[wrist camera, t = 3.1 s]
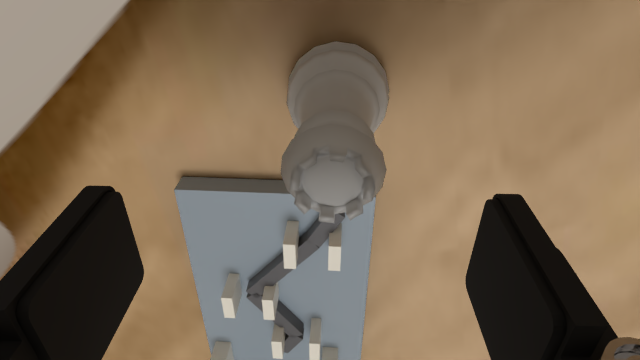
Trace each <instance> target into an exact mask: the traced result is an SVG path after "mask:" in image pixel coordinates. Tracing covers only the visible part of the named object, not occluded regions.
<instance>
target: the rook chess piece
mask: <svg viewBox="0 0 640 360" xmlns="http://www.w3.org/2000/svg"><path fill="white" fill-rule="evenodd" d="M388 93H389V87H388V82H387V77H386V72H385V70H384V69H383V67H382V66H381V65H380V63H379V62H378V60H377V59H376V57H375V56H374V55H373V54H371V53H370V52H368V51H366V50H365V49H363V48H361V47H360V46H358V45H356V44H350V43H343V42H336V41H335V42H331V43H327V44H323V45H319V46H316V47H314V48H312V49H311V50H310V51H309V52H307V53H306V54H305V55H303V56H302V57H301V58H300V59H298V61H297V63H296V65H295V67H294V69H293V70H292V72H291V74H290V76H289V84H288V94H287V105H288V108H289V111H290V114H291V117H292V120H293V123H294V124H295V125H296V127H297V128H298V131H297V133H296V134H295V137H294V139H293V140H292V141H291V142H290V144H289V146H288V147H287V149H286V151H285V152H284V154H283V156H282V164H281V176H282V178H283V181H284V183H285V186H286V189H287V190H288V191H289V193H290V194H291V195H292V196H293V197H294V198H295V201H294V204H295V205H296V206H297V207H298V208H299V210H300V211H301V212H302V213H303V214H305V213H307V212H308V211H309V210H310V209H313V210H315V211H317V212H319V221H320V222H328V223H334V219H335V214H339V213H344V212H346V215H347V216H348V218H349V220H352V219H354V218H355V217H357V216H359V215H361V214H363V205H365V204H367V203H369V202H370V201H371V202H372V201H373V198H374V197H375V196H376V194H377V193H378V192H379V191H380V189H381V188H382V186H383V182H384V178H385V174H386V166H385V162H384V157H383V153H382V151H381V150H380V149H379V147H378V146H377V145H376V143H375V139H374V135H373V133H374V132H375V130H376V129H377V128H378V126H379V125H380V124H381V122H382V121H383V119H384V117H385V114H386V110H387V105H388V101H389V95H388Z"/></svg>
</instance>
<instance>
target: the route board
mask: <svg viewBox="0 0 640 360" xmlns="http://www.w3.org/2000/svg"><path fill="white" fill-rule="evenodd" d="M174 191H175V195H176V200H177V204H178V209H179V213H180V218H181V222H182V226H183V231H184V235H185V240H186V244H187V249H188V253H189V258H190V262H191V267H192V271H193V275H194V280H195V284H196V289H197V293H198V298H199V302H200V307H201V311H202V316H203V320H204V325H205V329H206V333H207V338H208V342H209V347H210V351H211V358H210V360H360V359H361V349H362V338H363V327H364V317H365V306H366V295H367V285H368V274H369V263H370V253H371V242H372V231H373V221H374V210H375V199H376V196H375V197H374V198H373V201H372V202H371V201H370V202H369V203H367V204H365V205H363V214H361V215H359V216H357V217H355V218H354V219H352V220H349V218H348V216H347V215H346V212H344V213H339V214H335V219H334V223H328V222H320V221H319V212H317V211H315V210H313V209H310V210H309V211H308V212H307V213H305V214H303V213H302V212H301V211H300V210H299V208H298V207H297V206H296V205H295V204H294V201H295V198H294V197H293V196H292V195H291V194H290V193H289V191H288V190H287V189H286V186H285V183H284V181H283V180H263V179H234V178H206V177H182V178H181V179H180V181H179V183H178V184H177V186H176V188H175V189H174Z"/></svg>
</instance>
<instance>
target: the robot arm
mask: <svg viewBox="0 0 640 360" xmlns="http://www.w3.org/2000/svg"><path fill="white" fill-rule="evenodd" d="M143 276H144V269H143V265H142V261H141V258H140V255H139V251H138V248H137V245H136V241H135V238H134V235H133V231H132V228H131V225H130V221H129V218H128V215H127V211H126V208H125V205H124V201H123V198H122V195H121V194H120V193H119V192H115V190H114V188H113V187H111V186H86V187H85V188H84V189H83V190H82V191H81V192H80V193H79V194H78V195H77V196H76V198H75V199H74V200H73V201H72V202H71V203H70V204H69V205H68V206H67V207H66V209H65V210H64V211H63V212H62V213H61V214H60V215H59V216H58V217H57V219H56V220H55V221H54V222H53V223H52V224H51V225H50V226H49V227H48V228H47V230H46V231H45V232H44V233H43V234H42V235H41V236H40V237H39V238H38V240H37V241H36V242H35V243H34V244H33V245H32V246H31V247H30V248H29V250H28V251H27V252H26V253H25V254H24V255H23V256H22V257H21V258H20V259H19V261H18V262H17V263H16V264H15V265H14V266H13V267H12V268H11V269H10V271H9V272H8V273H7V274H6V275H5V276H4V277H3V278H2V279H1V281H0V360H101V359H102V358H103V356H104V354H105V352H106V350H107V348H108V346H109V344H110V342H111V340H112V338H113V336H114V334H115V333H116V331H117V329H118V327H119V325H120V323H121V321H122V319H123V317H124V315H125V313H126V311H127V309H128V307H129V306H130V304H131V302H132V300H133V298H134V296H135V294H136V292H137V290H138V288H139V286H140V284H141V282H142V280H143ZM466 288H467V292H468V295H469V298H470V300H471V303H472V306H473V309H474V312H475V315H476V318H477V320H478V323H479V326H480V329H481V332H482V335H483V338H484V340H485V343H486V346H487V349H488V352H489V355H490V358H491V360H640V339H636V338H631V337H622V338H618V337H617V335H616V334H615V332H614V331H613V329H612V328H611V326H610V325H609V323H608V322H607V320H606V319H605V317H604V316H603V314H602V313H601V311H600V310H599V308H598V307H597V305H596V304H595V302H594V301H593V299H592V298H591V296H590V295H589V293H588V292H587V290H586V289H585V287H584V285H583V284H582V282H581V281H580V279H579V278H578V276H577V275H576V273H575V272H574V270H573V269H572V267H571V266H570V264H569V263H568V261H567V260H566V258H565V257H564V255H563V254H562V253H561V252H560V250H559V249H557V248H556V247H555V246H554V244H553V243H552V241H551V239H550V238H549V236H548V235H547V233H546V232H545V230H544V229H543V227H542V226H541V224H540V223H539V221H538V220H537V218H536V217H535V215H534V214H533V212H532V211H531V209H530V208H529V206H528V205H527V203H526V201H525V200H524V198H523V197H522V196H521V195H519V194H496V195H494V197H493V199H488V200H487V201H486V203H485V206H484V209H483V213H482V217H481V221H480V225H479V228H478V232H477V236H476V240H475V244H474V247H473V251H472V255H471V259H470V263H469V266H468V270H467V274H466Z"/></svg>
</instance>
